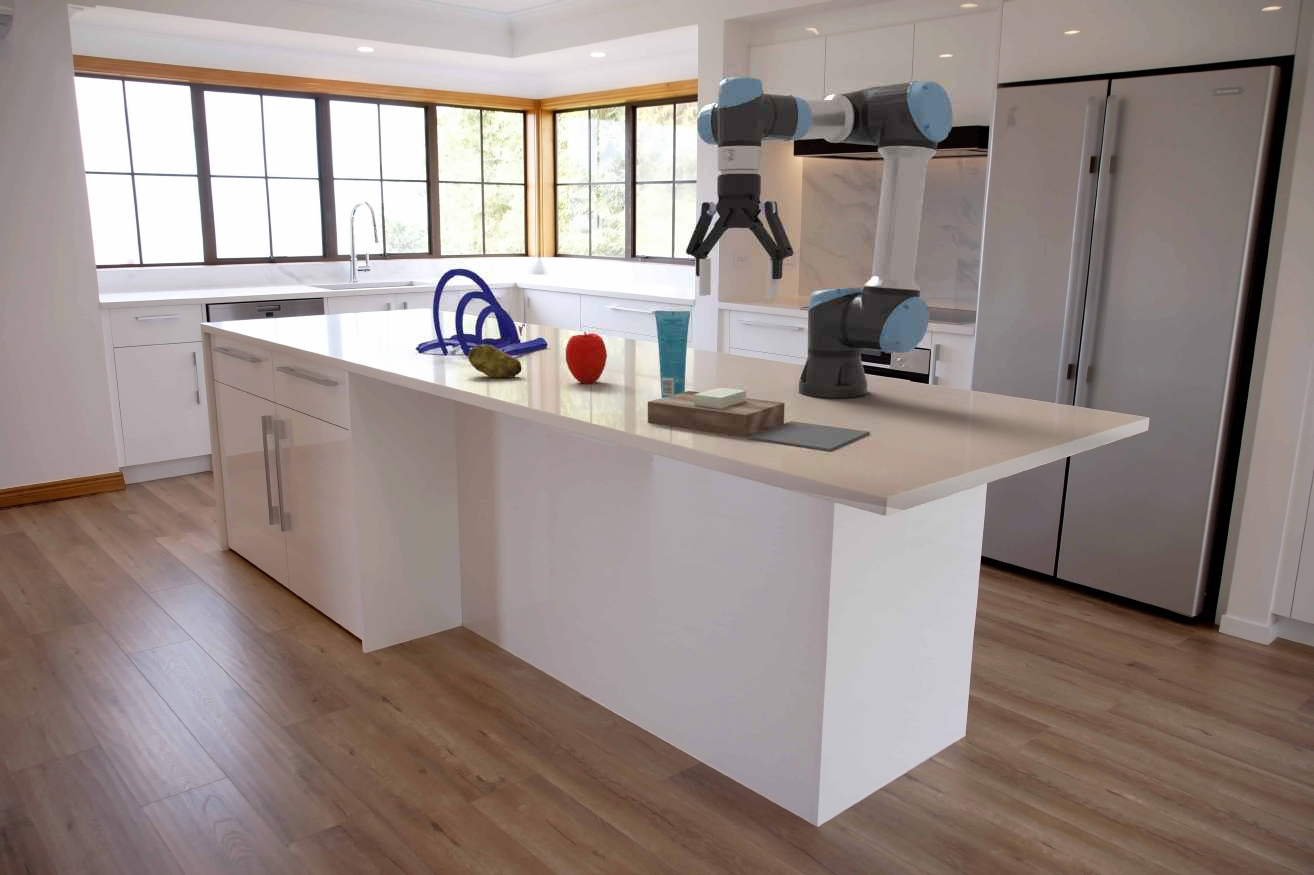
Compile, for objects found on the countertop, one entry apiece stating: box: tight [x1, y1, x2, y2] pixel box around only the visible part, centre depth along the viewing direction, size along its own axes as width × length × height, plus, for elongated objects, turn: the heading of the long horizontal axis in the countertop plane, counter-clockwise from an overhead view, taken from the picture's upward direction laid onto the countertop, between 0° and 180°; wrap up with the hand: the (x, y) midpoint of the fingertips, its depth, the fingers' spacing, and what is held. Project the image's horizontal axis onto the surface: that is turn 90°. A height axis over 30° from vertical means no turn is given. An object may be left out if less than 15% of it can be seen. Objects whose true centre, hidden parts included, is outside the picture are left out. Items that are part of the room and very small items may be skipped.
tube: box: [654, 310, 691, 398], centre depth 204 cm, size 7×5×19 cm, turn 90°
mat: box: [747, 420, 871, 452], centre depth 173 cm, size 16×16×1 cm
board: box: [647, 390, 786, 438], centre depth 184 cm, size 14×22×4 cm, turn 54°
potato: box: [468, 344, 522, 379], centre depth 237 cm, size 8×13×8 cm, turn 59°
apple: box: [565, 331, 608, 384], centre depth 228 cm, size 10×10×12 cm
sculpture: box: [415, 268, 548, 357], centre depth 281 cm, size 35×34×26 cm
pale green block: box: [694, 387, 747, 408], centre depth 182 cm, size 9×6×2 cm, turn 144°
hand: (737, 296), depth 171 cm, fingers open, 13 cm apart
